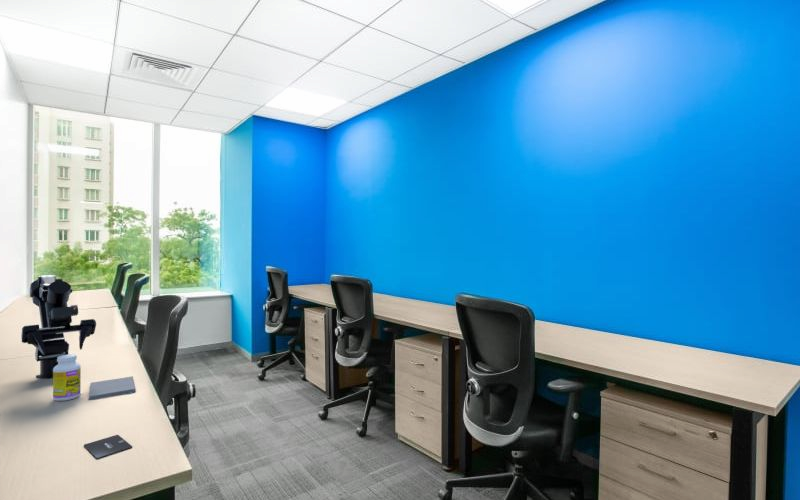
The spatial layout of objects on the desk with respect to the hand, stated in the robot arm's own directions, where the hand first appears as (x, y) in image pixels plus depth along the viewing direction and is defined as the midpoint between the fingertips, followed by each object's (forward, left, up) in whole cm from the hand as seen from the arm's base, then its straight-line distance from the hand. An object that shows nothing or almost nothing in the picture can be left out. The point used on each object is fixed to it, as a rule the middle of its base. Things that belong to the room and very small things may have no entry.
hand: (63, 351), depth 134 cm
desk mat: (+12, +7, -13) cm, 19 cm away
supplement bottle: (+6, -3, -13) cm, 15 cm away
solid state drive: (+48, -25, -14) cm, 56 cm away
